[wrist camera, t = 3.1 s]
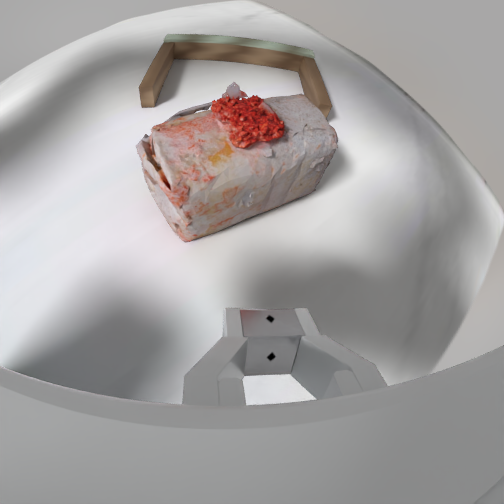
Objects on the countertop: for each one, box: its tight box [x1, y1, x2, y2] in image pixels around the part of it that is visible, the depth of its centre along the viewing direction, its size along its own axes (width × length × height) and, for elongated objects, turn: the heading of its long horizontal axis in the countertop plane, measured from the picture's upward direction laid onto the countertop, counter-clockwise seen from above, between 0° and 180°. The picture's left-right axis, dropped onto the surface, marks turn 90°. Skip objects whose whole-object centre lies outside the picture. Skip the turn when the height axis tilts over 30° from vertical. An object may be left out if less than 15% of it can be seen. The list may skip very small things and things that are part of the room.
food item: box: [136, 82, 338, 242], centre depth 19 cm, size 14×8×10 cm, turn 120°
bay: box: [139, 34, 332, 118], centre depth 29 cm, size 21×14×4 cm, turn 91°
